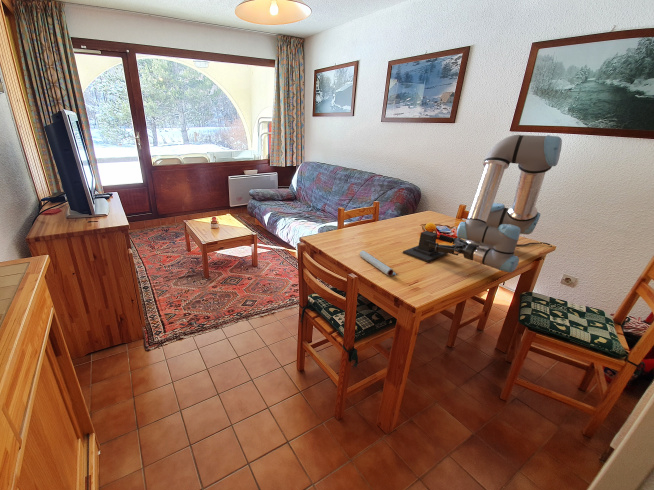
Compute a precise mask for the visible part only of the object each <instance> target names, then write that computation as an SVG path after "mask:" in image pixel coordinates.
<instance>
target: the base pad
mask: <svg viewBox="0 0 654 490" xmlns="http://www.w3.org/2000/svg"><path fill="white" fill-rule="evenodd" d="M402 254H404V255H407V256H409V257H412V258H415V259H417V260H420V261H423V262H425V263H430V262H432V261H435V260H437V259H439V258H442V257H444V256H446V255H448V254H449V253H443V252H437V251H435V249H434V251H432V252H430V253H429V252H426V251H423V250H420V249H418V245H416V246H413V247H411V248H408V249H405V250H403V251H402Z"/></svg>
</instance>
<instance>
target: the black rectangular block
mask: <svg viewBox="0 0 654 490" xmlns="http://www.w3.org/2000/svg"><path fill="white" fill-rule="evenodd" d="M437 238H438V233H435V232H432V231H428V230H425V231H422V232H420V236H419V241H418V245H417V246H418V249H420V250H423V251H426V252H429V253H430V252H432V251H434V248H431V247H428V246H425V245H424V241H425V240H428V241H432V242H435V243H437Z"/></svg>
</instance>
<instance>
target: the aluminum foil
mask: <svg viewBox="0 0 654 490" xmlns="http://www.w3.org/2000/svg"><path fill="white" fill-rule="evenodd" d="M359 257H361V258H362V259H363V260H365V261H367V262H368V263H369V264H370V265H372V266H373V267H375V268H376V269H378V270H379V271H380V272H382V273H383V274H385V275H386V276H388V277H391V276H392V277H393V276H397V275H398V274H397V273H396V272H395V271H394V269H393V268H391V267H389V266H388V265H386V264H385V263H383V262H382V261H381V260H379V259H378V258H376V257H374V256H373V255H372V254H370V253H369V252H367V251H365V250H361V251H360V252H359Z"/></svg>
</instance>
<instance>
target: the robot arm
mask: <svg viewBox="0 0 654 490" xmlns="http://www.w3.org/2000/svg"><path fill="white" fill-rule="evenodd" d="M562 144H563V139H562V137H560V136H557V135H550V134H549V135H548V134H547V135H534V134H533V135H527V134H513V135H510V136H507V137H505V138H502V139H501V140H500V141H498V142H497V143H496V144H494V145H493V147H491V149H490V150H489V151H488V152H487V154H486V156H485V158H484V160H483V162H482V163H483V164H482V165H483V167H484V168H483V171H482V174H481V177H480V180H479V183H478V185H477V188H476V191H475V194H474V196H473V200H472V203H471V206H470V209H469V211H468V215H467V217H466V220H465V221H460V222H459V224H458V226H457V228H456V229H457V230H456V236H457V237H451V236H448V235H445V234H441V233H440V234H439V237H438V240H439V241H442V242H446V243H448V244H451V245H447V244H439V243H438V242H436V243H435V242H432V241H428V240H425V241H424V245H425V246H428V247H431V248H434V249H435V251H437V252H443V253H448V254H449V255H454V256H459V254H460V255H463V258H464V259H466V260H469V261H473V262H475V263H478V264H480V265H484V266H487V267H490V268H493V269H495V270H498V271H502V272H505V273H513V272H514V271H515V270H516V269H517V267H518V266H519V263H520V258H519V256H517V255H515V251H516V248H517V247H521V246H522V247H525V246H529V245H547V246H549V245H551V244H550V243H548V242H540V241H539V242H540V243H539V242H528V243H525V244H518V242H519V239H520V235H531V234H532V233H533V232H534V230H535V228H536V226H537V224H538V223H539V220H540V217H541V213H540V212H539V211H538V209H537V207H536V206H537V202H538V199H539V195H540V191H541V188H542V185H543V182H544V179H545V175H546V173H547V172H549V171H551V169H552V168H553V167H557V165H558V163H559V160H560V155H561V152H562V146H563V145H562ZM510 164H518V165H517V168H518V170H519V171H520V174H519V179H518V182H517V186H516V190H515V194H514V198H513V203H512V204H511V205H510V206H509V207H506V206H505V204H504V203H500V202H495V198H496V196H497V194H498V190H499V188H500V185H501V182H502V179H503V176H504V172H505V170H507V169H509V166H510ZM542 243H543V244H542ZM549 247H553V246H552V245H551V246H549Z"/></svg>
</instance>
